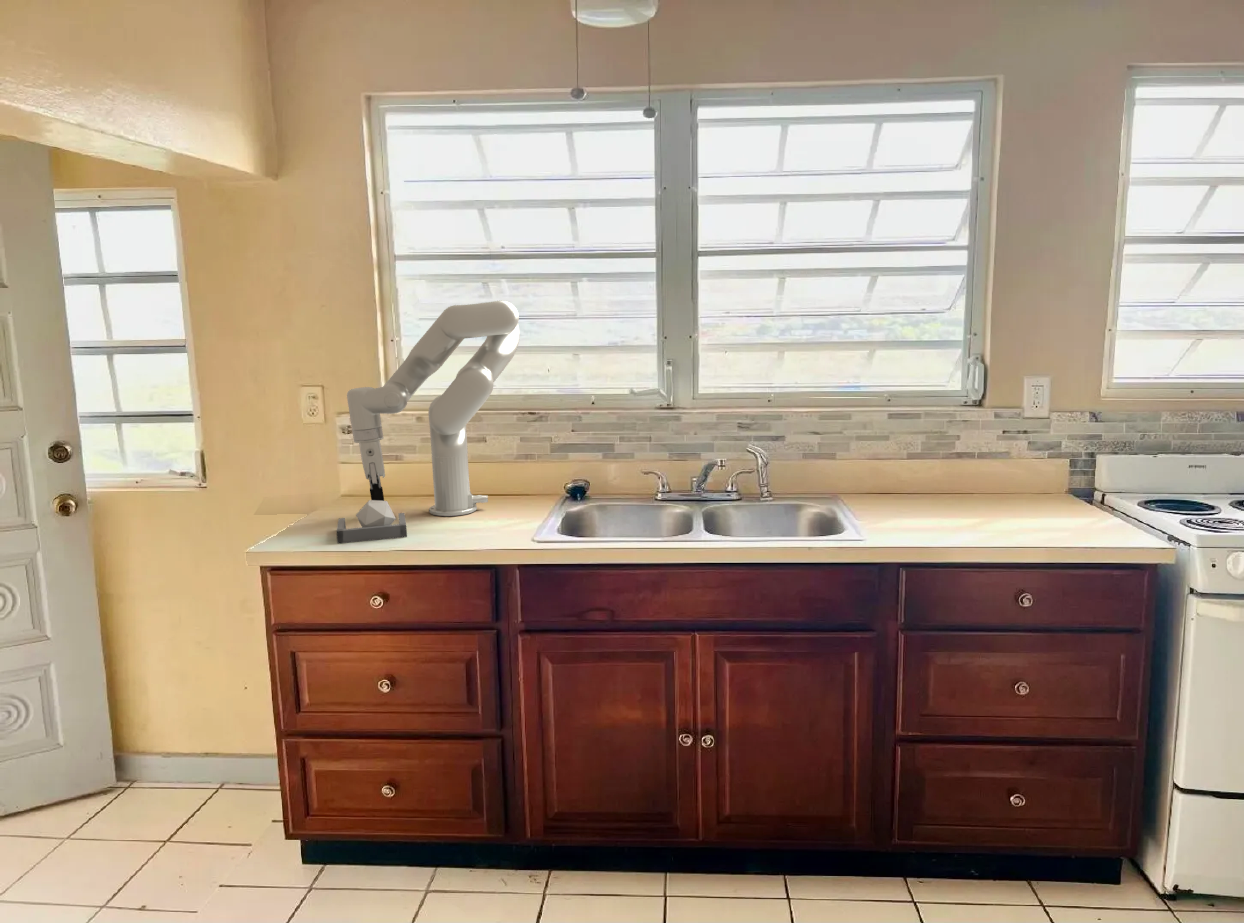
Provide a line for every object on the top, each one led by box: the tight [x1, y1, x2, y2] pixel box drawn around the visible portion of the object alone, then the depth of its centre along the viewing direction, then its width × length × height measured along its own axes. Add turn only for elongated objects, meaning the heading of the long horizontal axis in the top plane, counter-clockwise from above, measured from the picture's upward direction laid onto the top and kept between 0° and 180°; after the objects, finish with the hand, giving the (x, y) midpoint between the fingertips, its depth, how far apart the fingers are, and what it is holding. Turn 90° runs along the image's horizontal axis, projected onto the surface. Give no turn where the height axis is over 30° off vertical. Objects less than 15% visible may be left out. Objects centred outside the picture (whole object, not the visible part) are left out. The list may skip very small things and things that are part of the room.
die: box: [355, 499, 396, 528], centre depth 207 cm, size 8×9×10 cm
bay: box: [335, 512, 408, 544], centre depth 206 cm, size 16×13×3 cm
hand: (378, 502), depth 222 cm, fingers closed
